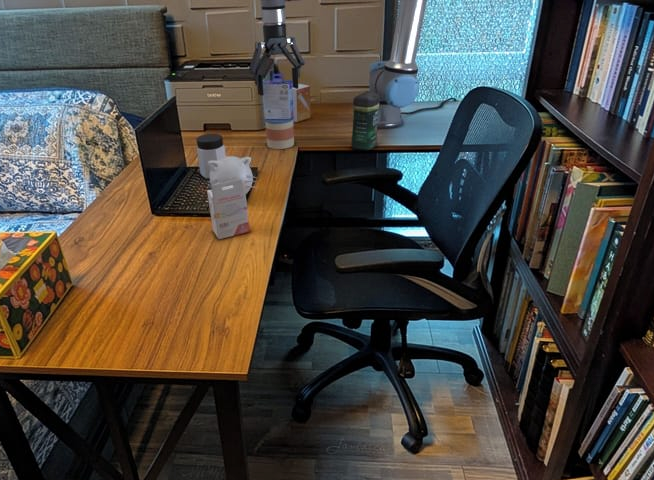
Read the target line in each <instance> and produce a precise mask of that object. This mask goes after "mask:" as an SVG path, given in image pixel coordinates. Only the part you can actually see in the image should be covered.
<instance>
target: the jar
mask: <svg viewBox="0 0 654 480" xmlns="http://www.w3.org/2000/svg"><path fill="white" fill-rule="evenodd" d="M195 141H196V154H197V161H198V167H199V174H200V175H201V176H202V177H203V178H204V179H208V180H209V179H210V172H211V168H210V167H209V165H208V161H218V160H219V159H221V158H224V157H227V154H226V145H224V139H223V136H222V134H219V133H205V134H202V135H198V136H197V137H196V139H195Z"/></svg>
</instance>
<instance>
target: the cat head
mask: <svg viewBox="0 0 654 480" xmlns="http://www.w3.org/2000/svg"><path fill="white" fill-rule="evenodd" d="M251 161H252V158H251V157H250V156H243V157H241V158H240V157H238V156H235V155H234V156H233V155H229V156H228V155H226V157H224V158H221V159H219V160H218V161H208V165H209V167H210V168H211V172H210V178H209V181H207V184H209V183H210V185H209V186H207V188H211V185H213V184H218V183H222V182H227V181H232V180H238V179H243V184H244V190H245V194H246V195H247V194H248V192H249V191H250V190H251V188H253V189H260V188H259V187H257V186H254V185H253V183H257V182H258V181H257V180H254V179H257V176H254V175H253V172H252V169H251V167H250V163H251ZM252 185H253V186H252ZM226 186H229V185H226Z"/></svg>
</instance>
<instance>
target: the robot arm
mask: <svg viewBox="0 0 654 480" xmlns="http://www.w3.org/2000/svg"><path fill="white" fill-rule="evenodd" d="M296 1H297V2H298V1H299V2H300V0H260V6H261V20H262V23H263V25H262V34H263V41H262V42H259V41H255V43H254V52H253V55H252V58H251V62H250V64H249V68H248V70H247V71H248V74H251V75H253V76H254V77H253V78H254V83H255V84H254V85H255V86H256V87H257V95H259V96H262V97H263V95H264V92H263V83H264V82H263V80H264V79H263V74H261V73H262V72H263V70H264V68H265V67H266V64H267V62H268V61H269V59H270V58H271V57H272V56H276V55H284V57H285V58H286V59H287V60H288V61H289V63H290V64H291V65H292V66H293V67H291V78H292V79H291V80H292V86H293V88H296V89H298V84H299V79H300V77H301V68H302V67H303V66H305V60H304V58H303V57H302V55H301V52H300V50H299V48H298V45H297V43H296V42H297V41H296V38H295V37H293V36H289V37H288V38H287V24H286V23H285V22H286V21H287V17H286V2H296ZM427 3H428V0H400V1H399V6H398V11H397V18H396V23H395V29H394V34H393V41H392V47H391V53H390V59H389V60H381V61H374V62H371V63H370V67H369V71H368V72H369V81H368V82H369V83H368V84H369V85H368V91H371V92H377V94H378V95H379V97H380V98H379V109H378V122H377V129H393V128H397V127H399V126H402V125H403V115H412V114H415V113H418V112H422V111H429V110H430V111H431V110H437V109H440V108H442V107H443V104H446V103H447V102H449V101H451V100H452V101H454V102H457V98H455V97H449V98H447V99H445V100H443V101H441V102H440V105H438V106H432V107H423V108H419V109H416V110H413V111H408V112H406V111H401V109H402V108H406V107H408V106H410V105H411V104H412V103H414V101H415V100H416V99H417V97H418V95H419V93H420V85H419V81H418V79H417V78H418V71H419V66H418V65H417V63H416V59H417V53H418V49H419V44H420V39H421V33H422V28H423V23H424V18H425V13H426V8H427ZM287 44H288V46H289V47H290V50H291V52H292V53H290V51H289V49H288V48H287ZM263 49H264V50H263ZM262 50H263V53H262ZM292 54H293V55H292ZM261 55H262V56H261Z"/></svg>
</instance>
